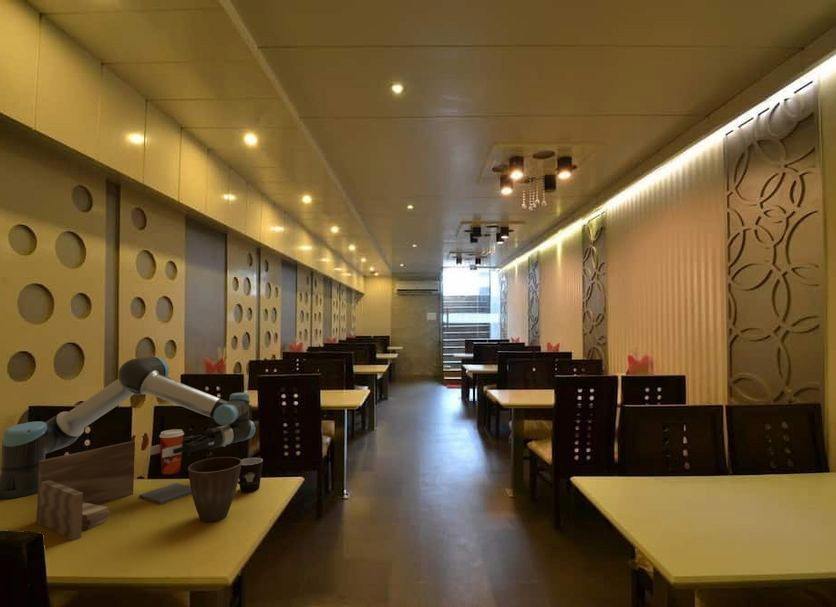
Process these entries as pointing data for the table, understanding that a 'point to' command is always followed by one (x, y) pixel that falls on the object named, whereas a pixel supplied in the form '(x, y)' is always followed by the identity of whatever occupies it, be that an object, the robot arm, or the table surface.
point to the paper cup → (167, 441)
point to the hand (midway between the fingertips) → (156, 452)
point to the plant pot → (214, 486)
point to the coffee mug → (250, 474)
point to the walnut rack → (82, 485)
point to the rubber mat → (167, 493)
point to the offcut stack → (93, 515)
